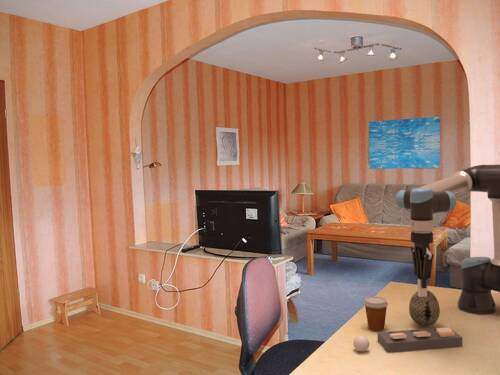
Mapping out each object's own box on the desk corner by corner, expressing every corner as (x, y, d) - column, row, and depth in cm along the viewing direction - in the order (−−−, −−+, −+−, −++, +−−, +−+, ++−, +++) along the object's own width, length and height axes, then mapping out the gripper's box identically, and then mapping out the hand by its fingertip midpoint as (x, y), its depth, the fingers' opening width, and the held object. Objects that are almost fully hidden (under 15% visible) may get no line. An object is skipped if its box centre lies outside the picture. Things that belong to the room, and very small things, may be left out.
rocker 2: (448, 329, 165) (448, 327, 165) (454, 336, 161) (454, 333, 161) (435, 330, 165) (436, 328, 164) (441, 337, 161) (441, 334, 160)
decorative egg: (407, 320, 188) (406, 285, 187) (436, 320, 186) (435, 285, 185) (412, 330, 177) (411, 294, 176) (443, 331, 174) (442, 294, 173)
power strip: (448, 335, 171) (447, 326, 170) (462, 346, 161) (462, 336, 160) (377, 341, 168) (377, 332, 168) (387, 352, 159) (387, 342, 158)
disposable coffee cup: (389, 333, 175) (389, 304, 174) (365, 332, 177) (364, 303, 176) (387, 324, 184) (386, 296, 184) (363, 323, 186) (363, 295, 186)
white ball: (366, 355, 157) (366, 340, 157) (351, 352, 160) (351, 337, 160) (373, 347, 164) (372, 332, 163) (358, 344, 167) (357, 329, 166)
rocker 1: (402, 335, 163) (402, 332, 164) (406, 337, 160) (406, 334, 160) (389, 336, 163) (388, 333, 163) (393, 338, 159) (393, 335, 159)
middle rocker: (425, 333, 164) (425, 330, 164) (430, 335, 160) (430, 332, 160) (412, 334, 164) (412, 331, 164) (417, 337, 160) (417, 333, 160)
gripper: (403, 229, 164) (404, 291, 165) (420, 235, 151) (420, 302, 153) (423, 228, 164) (423, 290, 166) (441, 233, 152) (441, 301, 153)
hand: (422, 295), depth 159 cm, fingers closed
